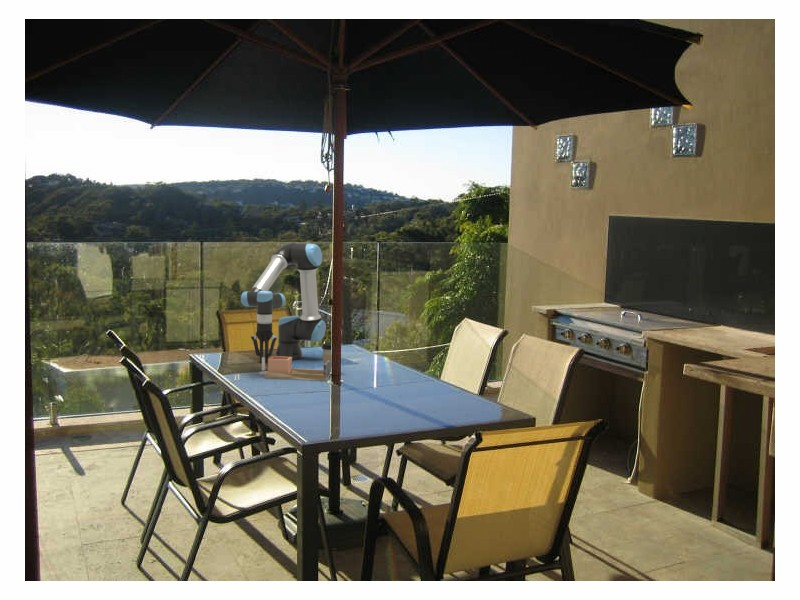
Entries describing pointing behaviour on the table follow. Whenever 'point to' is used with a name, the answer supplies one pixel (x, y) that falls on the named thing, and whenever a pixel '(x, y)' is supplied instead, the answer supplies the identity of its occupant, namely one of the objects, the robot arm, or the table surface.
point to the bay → (303, 374)
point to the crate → (280, 364)
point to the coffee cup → (327, 353)
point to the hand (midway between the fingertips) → (263, 369)
